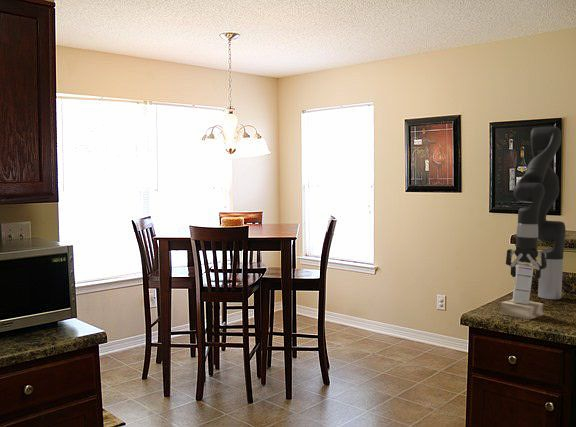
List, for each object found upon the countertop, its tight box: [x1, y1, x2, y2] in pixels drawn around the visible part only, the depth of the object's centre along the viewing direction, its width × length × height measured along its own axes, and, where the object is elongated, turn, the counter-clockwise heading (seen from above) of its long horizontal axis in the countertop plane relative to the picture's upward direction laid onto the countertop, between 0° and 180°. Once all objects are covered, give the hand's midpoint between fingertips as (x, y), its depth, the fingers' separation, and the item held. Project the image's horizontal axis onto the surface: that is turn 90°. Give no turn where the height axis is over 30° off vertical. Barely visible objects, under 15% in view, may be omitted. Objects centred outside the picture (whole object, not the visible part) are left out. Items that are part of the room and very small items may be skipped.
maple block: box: [500, 298, 544, 321], centre depth 221 cm, size 11×11×5 cm
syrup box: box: [512, 262, 534, 304], centre depth 221 cm, size 6×6×14 cm
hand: (525, 278), depth 220 cm, fingers open, 8 cm apart
